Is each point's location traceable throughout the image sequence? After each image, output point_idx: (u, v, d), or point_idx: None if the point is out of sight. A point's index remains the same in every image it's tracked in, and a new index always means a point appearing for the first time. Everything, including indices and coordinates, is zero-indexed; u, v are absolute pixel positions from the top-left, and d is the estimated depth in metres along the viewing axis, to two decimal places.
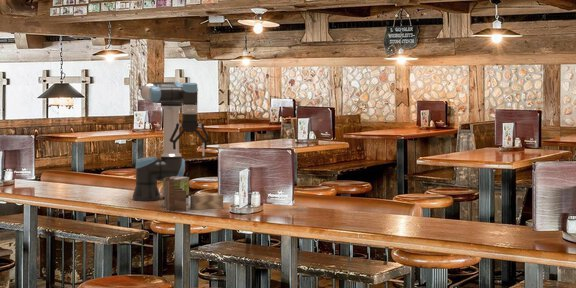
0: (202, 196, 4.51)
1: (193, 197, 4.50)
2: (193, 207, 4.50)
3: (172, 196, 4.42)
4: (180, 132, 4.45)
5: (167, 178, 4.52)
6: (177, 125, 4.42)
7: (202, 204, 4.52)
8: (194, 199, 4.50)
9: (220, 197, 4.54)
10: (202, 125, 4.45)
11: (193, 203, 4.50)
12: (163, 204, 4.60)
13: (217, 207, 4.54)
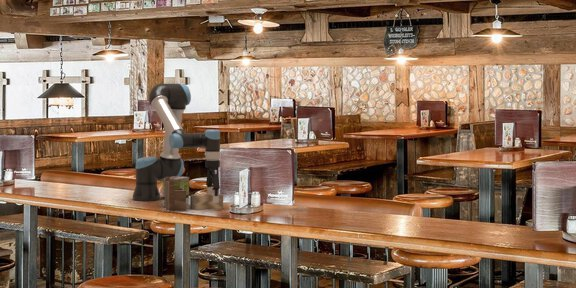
0: (202, 196, 4.51)
1: (193, 197, 4.50)
2: (193, 207, 4.50)
3: (172, 196, 4.42)
4: None
5: (167, 178, 4.52)
6: (207, 170, 4.60)
7: (202, 204, 4.52)
8: (194, 199, 4.50)
9: (220, 197, 4.54)
10: (213, 172, 4.49)
11: (193, 203, 4.50)
12: (163, 204, 4.60)
13: (217, 207, 4.54)
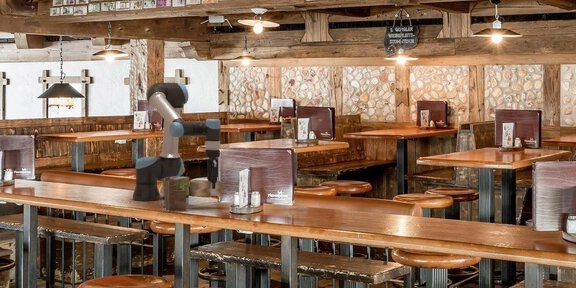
0: (202, 183, 4.51)
1: (193, 184, 4.50)
2: (192, 194, 4.50)
3: (172, 196, 4.42)
4: None
5: (167, 178, 4.52)
6: (207, 162, 4.60)
7: (201, 191, 4.52)
8: (194, 186, 4.50)
9: (220, 184, 4.54)
10: (212, 164, 4.49)
11: (193, 190, 4.50)
12: (163, 204, 4.60)
13: (216, 194, 4.54)
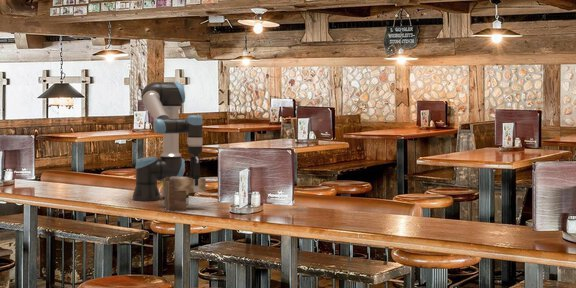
0: (184, 180, 4.48)
1: (175, 181, 4.47)
2: None
3: (172, 196, 4.42)
4: None
5: (167, 178, 4.52)
6: (190, 159, 4.57)
7: (184, 187, 4.48)
8: (176, 183, 4.47)
9: (202, 181, 4.51)
10: (195, 160, 4.46)
11: (175, 187, 4.47)
12: (163, 204, 4.60)
13: (199, 191, 4.51)
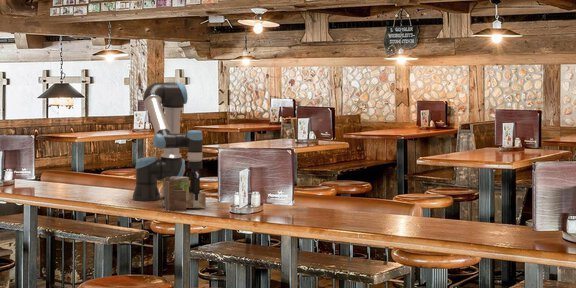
0: None
1: None
2: None
3: (172, 196, 4.42)
4: None
5: (167, 178, 4.52)
6: (190, 174, 4.57)
7: None
8: None
9: (202, 196, 4.51)
10: (195, 175, 4.46)
11: None
12: (163, 204, 4.60)
13: (199, 206, 4.51)
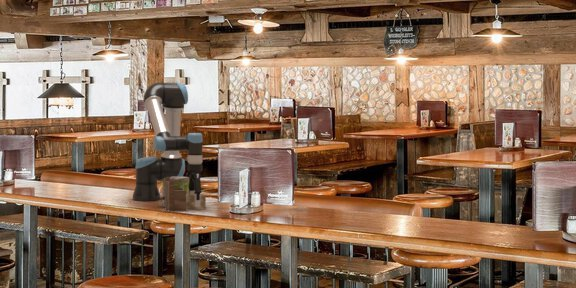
0: None
1: None
2: None
3: (172, 196, 4.42)
4: None
5: (167, 178, 4.52)
6: (190, 173, 4.58)
7: None
8: None
9: (202, 198, 4.51)
10: (195, 176, 4.46)
11: None
12: (163, 204, 4.60)
13: (199, 208, 4.51)
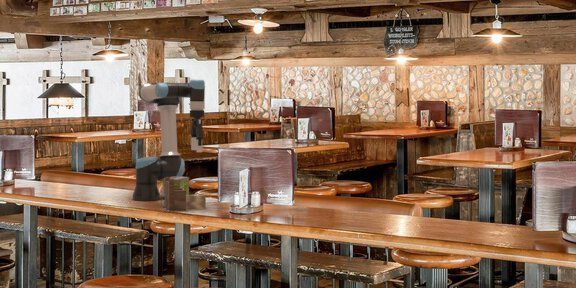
0: None
1: None
2: None
3: (172, 196, 4.42)
4: None
5: (167, 178, 4.52)
6: (192, 120, 4.60)
7: None
8: None
9: (202, 198, 4.51)
10: (197, 121, 4.48)
11: None
12: (163, 204, 4.60)
13: (199, 208, 4.51)
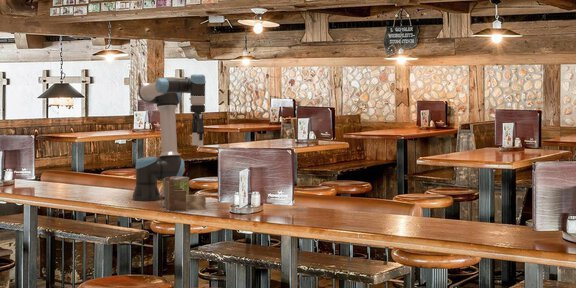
0: None
1: None
2: None
3: (172, 196, 4.42)
4: None
5: (167, 178, 4.52)
6: None
7: None
8: None
9: (202, 198, 4.51)
10: (197, 116, 4.49)
11: None
12: (163, 204, 4.60)
13: (199, 208, 4.51)
